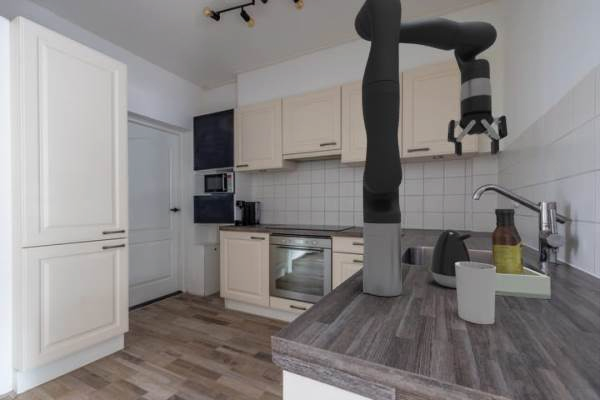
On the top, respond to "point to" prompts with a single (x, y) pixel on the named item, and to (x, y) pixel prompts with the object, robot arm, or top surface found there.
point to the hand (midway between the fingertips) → (476, 155)
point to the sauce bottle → (506, 244)
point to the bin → (523, 285)
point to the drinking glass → (476, 291)
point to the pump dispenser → (448, 256)
